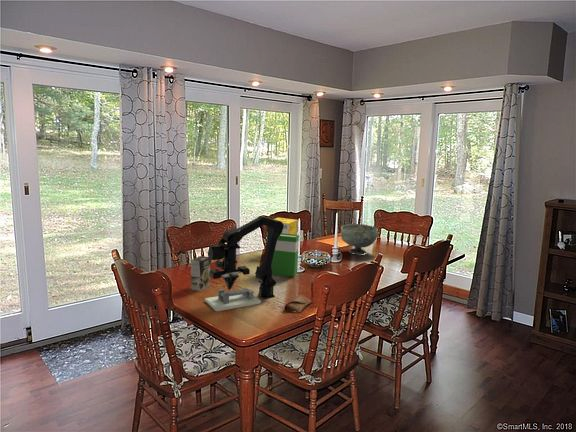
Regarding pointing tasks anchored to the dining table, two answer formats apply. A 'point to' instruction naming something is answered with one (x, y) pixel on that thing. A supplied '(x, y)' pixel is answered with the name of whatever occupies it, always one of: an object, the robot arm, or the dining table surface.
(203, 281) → the coffee box
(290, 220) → the packaging box
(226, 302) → the base
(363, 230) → the decorative bowl
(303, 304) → the sunglasses case
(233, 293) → the bar
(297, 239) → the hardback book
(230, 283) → the robot arm
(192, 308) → the dining table surface
